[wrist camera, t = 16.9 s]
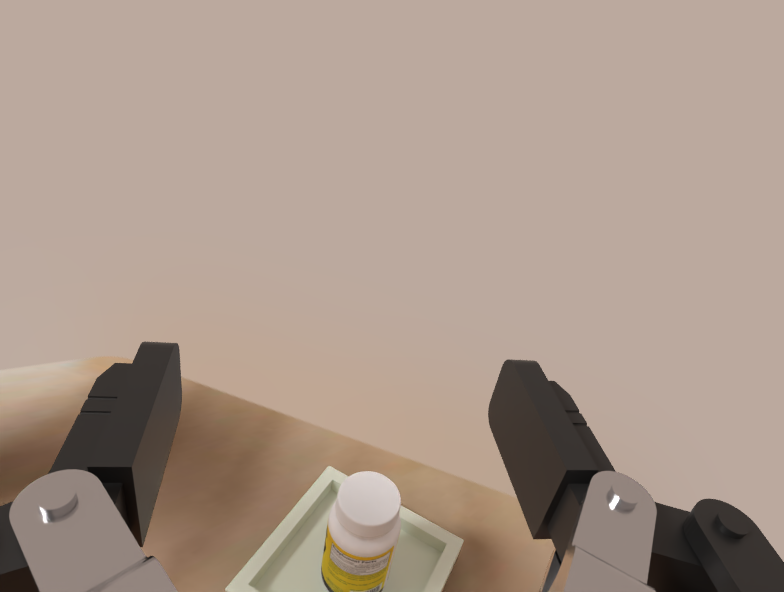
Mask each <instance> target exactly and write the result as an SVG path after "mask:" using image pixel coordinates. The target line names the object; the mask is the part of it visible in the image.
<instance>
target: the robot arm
mask: <svg viewBox="0 0 784 592" xmlns="http://www.w3.org/2000/svg"><path fill="white" fill-rule="evenodd" d="M181 403H182V388H181V371H180V354H179V346H178V344H177V343H160V342H142V344H141V345H140V347H139V349H138V352H137V354H136V356H135V359H134V361H133V363H132V364H127V363H115V364H113V365H112V366H111V367H110V368H109V369H107V370H106V371H105V372H104V373H103V374H101V375H100V376H99V377H98V378H97V379H96V381H95V383H94V385H93V387H92V389H91V391H90V393H89V395H88V400H86V401H85V403H84V405H83V407H82V409H81V412H80V415H78V417H77V419H76V421H75V423H74V425H73V426H72V428H71V430H70V432H69V434H68V436H67V438H66V440H65V442H64V444H63V446H62V448H61V450H60V452H59V454H58V456H57V458H56V460H55V462H54V464H53V466H52V468H51V470H50V471H49V473H48V474H47V475H44V476H42V477H40V478H38V479H37V480H35V481H33V482H32V483H30V484H29V485H28V486H27V487H25V488H24V489H23V490H22V491H21V492H20V493H19V494H18V496H17V497H16V498H15V500H14V501H13V502H10V503H8V504H5V505H3V506H0V592H178V591H177V590H176V588H175V586H174V585H173V583H172V582H171V580H170V578H169V577H168V575H167V573H166V572H165V570H164V569H163V567H162V565H161V564H160V563H159V561H158V560H157V559H156V558H155V557H154V556H150V557H146V555H145V554H144V553H143V551H142V550H141V548H140V547H143V544H144V541H145V537H146V534H147V530H148V527H149V523H150V520H151V516H152V513H153V509H154V506H155V502H156V499H157V495H158V491H159V488H160V484H161V481H162V477H163V474H164V470H165V467H166V463H167V460H168V456H169V453H170V449H171V446H172V442H173V439H174V435H175V432H176V428H177V425H178V421H179V417H180V411H181ZM488 412H489V413H488V417H489V424H490V428H491V431H492V433H493V436H494V438H495V441H496V444H497V446H498V449H499V451H500V454H501V457H502V459H503V461H504V464H505V467H506V469H507V472H508V475H509V477H510V480H511V482H512V485H513V487H514V490H515V493H516V495H517V498H518V501H519V503H520V506H521V508H522V511H523V514H524V516H525V519H526V521H527V524H528V527H529V529H530V532H531V534H532V537H533V539H552V541H553V543H554V546H555V549H554V551H553V553H552V555H551V557H550V560H549V563H548V566H547V569H546V573H545V576H544V579H543V582H542V585H541V588H540V591H539V592H784V562H783V561H782V559H781V558H780V557H779V555H778V554H777V553H776V551H775V550H774V548H773V547H772V546H771V544H770V543H769V542H768V540H767V539H766V537H765V536H764V535H763V534H762V532H761V531H760V529H759V528H758V527H757V525H756V524H755V523H754V522H753V521H752V520H751V519H750V518H749V517H747V515H745V514H744V513H743V512H741V511H740V510H738V509H737V508H735V507H734V506H732V505H730V504H728V503H725V502H723V501H719V500H716V499H703V500H701V501H699V502H698V503H697V504H696V505H695V506H694V508H693V509H692V511H691V512H688V511H684V510H681V509H677V508H673V507H670V506H666V505H663V504H659V503H656V502H654V500H653V498H652V497H651V495H650V494H649V493H648V491H647V490H646V489H645V488H643V486H642V485H640V484H639V483H638V482H636V481H635V480H634V479H632V478H630V477H628V476H626V475H624V474H621V473H618V472H616V471H615V470H614V468H613V466H612V465H611V463H610V461H609V460H608V458H607V456H606V455H605V453H604V451H603V450H602V448H601V446H600V445H599V443H598V441H597V439H596V438H595V436H594V434H593V433H592V431H591V429H590V428H589V427H587V423H586V421H585V419H584V418H583V416H582V414H579V409H578V408H577V406H576V404H575V403H574V401H573V399H572V398H571V396H570V395H569V394H568V393H567V392H566V391H565V390H564V389H563V388H561V387H560V386H559V385H558V384H557V383H556V382H555V381H548V380H547V378H546V376H545V374H544V372H543V371H542V369H541V367H540V365H539V364H538V363H537V362H536V361H527V360H506V361H505V362H504V364H503V366H502V369H501V371H500V374H499V377H498V381H497V383H496V386H495V389H494V392H493V395H492V398H491V401H490V404H489V411H488Z"/></svg>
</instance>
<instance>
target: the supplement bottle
mask: <svg viewBox="0 0 784 592" xmlns="http://www.w3.org/2000/svg"><path fill="white" fill-rule="evenodd" d="M400 506H401V496H400V493H399V490H398V488H397V487H396V485H395V484H394V483H393V482H392V481H391V480H390V479H389V478H387V477H386V476H384V475H382V474H380V473H377V472H372V471H363V472H357V473H355V474H352V475H350V476H349V477H348V478H346V479H345V480H344V481H343V483H342V484H341V486H340V488H339V491H338V495H337V499H336V501H335V503H334V504H333V506H332V508H331V510H330V513H329V517H328V524H327V530H326V538H325V545H324V552H323V558H322V565H321V578H322V582H323V585H324V587H325V589H326V591H327V592H383V590H384V588H385V586H386V583H387V580H388V576H389V572H390V569H391V564H392V560H393V557H394V553H395V549H396V545H397V542H398V538H399V534H400V530H401V519H400V514H399V511H400Z"/></svg>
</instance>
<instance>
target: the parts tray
mask: <svg viewBox="0 0 784 592" xmlns="http://www.w3.org/2000/svg"><path fill="white" fill-rule="evenodd" d="M348 477H349V476H347V475H345V474H343V473H342V472H340V471H338V470H336V469H334V468H332V467H331V466H328V467H327V468H326V470H325V471H324V472H323V473H322V474H321V475H320V477H319V478H318V479H317V480H316V481H315V483H314V484H313V485H312V486H311V487H310V489H309V490H308V491H307V492H306V493H305V494H304V496H303V497H302V498H301V499H300V500H299V502H298V503H297V504H296V505H295V506H294V508H293V509H292V510H291V511H290V512H289V513H288V515H287V516H286V517H285V518H284V519H283V521H282V522H281V523H280V524H279V525H278V527H277V528H276V529H275V530H274V531H273V532H272V534H271V535H270V536H269V537H268V538H267V540H266V541H265V542H264V543H263V544H262V546H261V547H260V548H259V549H258V550H257V551H256V553H255V554H254V555H253V556H252V557H251V559H250V560H249V561H248V562H247V563H246V565H245V566H244V567H243V568H242V569H241V570H240V572H239V573H238V574H237V575H236V576H235V578H234V579H233V580H232V581H231V582H230V584H229V585H228V586H227V587H226V588H225V592H327V591H326V589H325V587H324V585H323V582H322V578H321V565H322V558H323V552H324V545H325V538H326V530H327V524H328V517H329V513H330V510H331V508H332V506H333V504H334V503H335V501H336V499H337V495H338V491H339V488H340V486H341V484H342V483H343V481H344V480H345V479H346V478H348ZM399 514H400V519H401V530H400V534H399V538H398V542H397V545H396V549H395V553H394V557H393V560H392V564H391V569H390V572H389V576H388V580H387V583H386V586H385V588H384V590H383V592H442V591H443V589H444V586H445V584H446V582H447V580H448V577H449V575H450V573H451V571H452V569H453V566H454V564H455V562H456V560H457V557H458V555H459V552H460V550H461V547H462V544H463V542H464V540H463V539H461V538H459V537H457V536H456V535H454V534H452V533H450V532H448V531H447V530H445V529H443V528H441V527H439V526H438V525H436V524H434V523H432V522H430V521H428V520H427V519H425V518H423V517H421V516H419V515H418V514H416V513H414V512H412V511H410V510H409V509H407V508H405V507H403V506H400V511H399Z"/></svg>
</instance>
